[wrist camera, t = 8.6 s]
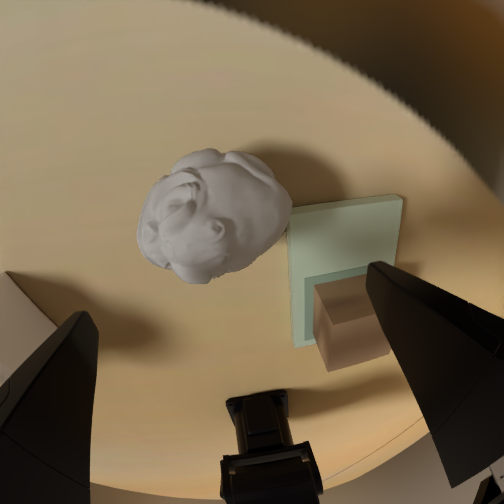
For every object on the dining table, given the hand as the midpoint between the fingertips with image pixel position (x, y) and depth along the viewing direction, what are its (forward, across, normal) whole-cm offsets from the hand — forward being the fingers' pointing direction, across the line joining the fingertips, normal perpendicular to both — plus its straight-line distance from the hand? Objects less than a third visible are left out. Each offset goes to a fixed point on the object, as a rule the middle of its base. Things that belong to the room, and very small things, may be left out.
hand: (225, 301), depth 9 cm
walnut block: (+9, -8, +10) cm, 15 cm away
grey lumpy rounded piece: (+10, 0, 0) cm, 10 cm away
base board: (+10, -8, +8) cm, 15 cm away
